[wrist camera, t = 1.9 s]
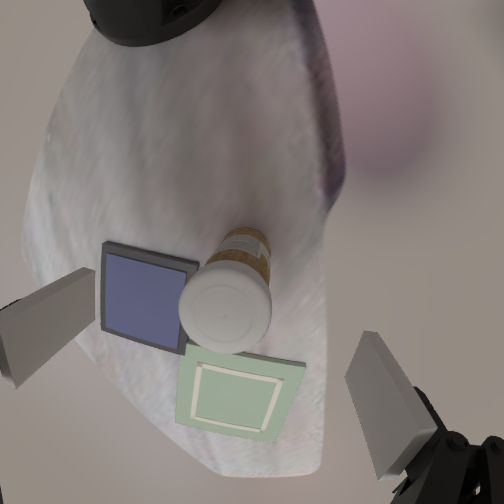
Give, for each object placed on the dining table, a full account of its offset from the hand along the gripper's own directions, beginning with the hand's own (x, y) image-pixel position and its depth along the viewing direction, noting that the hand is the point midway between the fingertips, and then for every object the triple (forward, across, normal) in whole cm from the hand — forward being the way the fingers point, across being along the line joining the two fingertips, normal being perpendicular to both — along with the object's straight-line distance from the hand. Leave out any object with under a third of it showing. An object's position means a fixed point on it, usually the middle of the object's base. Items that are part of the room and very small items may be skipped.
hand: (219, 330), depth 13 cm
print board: (+14, +2, -16) cm, 22 cm away
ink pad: (+14, -9, -6) cm, 18 cm away
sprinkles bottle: (+14, 0, 0) cm, 14 cm away
